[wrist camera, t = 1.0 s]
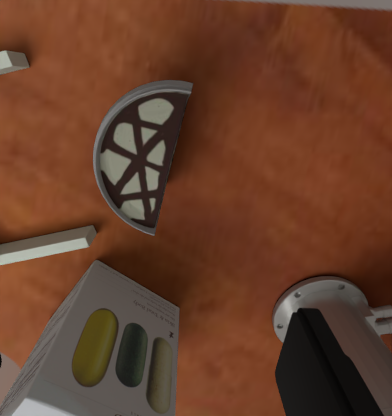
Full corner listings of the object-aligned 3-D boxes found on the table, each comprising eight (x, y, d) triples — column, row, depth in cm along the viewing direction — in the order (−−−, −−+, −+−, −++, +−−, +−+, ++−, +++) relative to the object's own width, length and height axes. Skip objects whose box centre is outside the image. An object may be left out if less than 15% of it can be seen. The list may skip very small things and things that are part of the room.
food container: (129, 62, 28) (99, 55, 19) (192, 82, 29) (193, 83, 20) (108, 182, 33) (76, 223, 23) (163, 196, 33) (152, 241, 24)
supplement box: (183, 307, 40) (178, 461, 24) (129, 363, 44) (95, 527, 28) (96, 256, 36) (22, 396, 20) (46, 322, 40) (-48, 482, 24)
